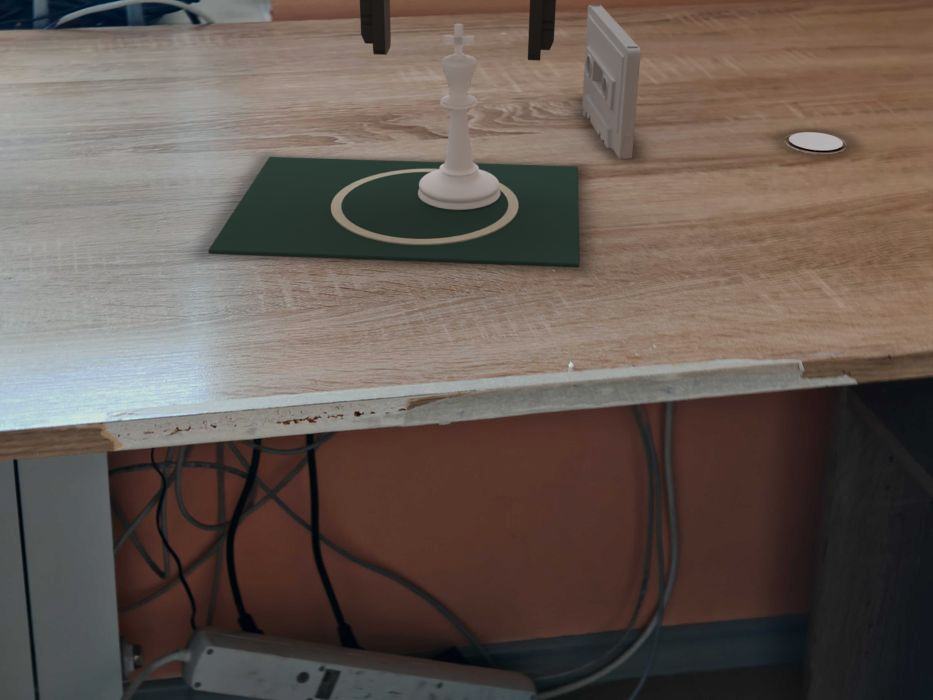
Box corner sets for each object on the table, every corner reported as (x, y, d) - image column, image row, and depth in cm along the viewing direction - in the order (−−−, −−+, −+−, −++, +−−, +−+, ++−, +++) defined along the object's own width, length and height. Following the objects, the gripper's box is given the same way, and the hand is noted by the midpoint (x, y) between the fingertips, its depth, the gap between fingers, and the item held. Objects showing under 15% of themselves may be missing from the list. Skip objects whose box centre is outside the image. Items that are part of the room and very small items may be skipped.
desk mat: (209, 263, 59) (207, 247, 58) (270, 167, 71) (268, 154, 70) (578, 277, 57) (579, 261, 57) (577, 177, 69) (577, 163, 69)
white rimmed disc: (771, 148, 73) (773, 139, 73) (806, 135, 76) (807, 127, 75) (822, 165, 71) (824, 156, 71) (856, 151, 73) (858, 142, 73)
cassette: (639, 166, 71) (649, 49, 67) (611, 167, 71) (620, 50, 67) (599, 107, 81) (606, 3, 77) (575, 108, 81) (580, 3, 77)
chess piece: (425, 176, 67) (422, 12, 62) (504, 180, 66) (508, 15, 61) (410, 207, 63) (406, 34, 58) (495, 212, 62) (498, 38, 57)
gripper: (297, -283, 49) (319, 69, 58) (611, -279, 48) (587, 79, 57) (328, -285, 56) (344, 32, 64) (606, -281, 55) (585, 40, 63)
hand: (458, 54), depth 60 cm, fingers open, 8 cm apart
